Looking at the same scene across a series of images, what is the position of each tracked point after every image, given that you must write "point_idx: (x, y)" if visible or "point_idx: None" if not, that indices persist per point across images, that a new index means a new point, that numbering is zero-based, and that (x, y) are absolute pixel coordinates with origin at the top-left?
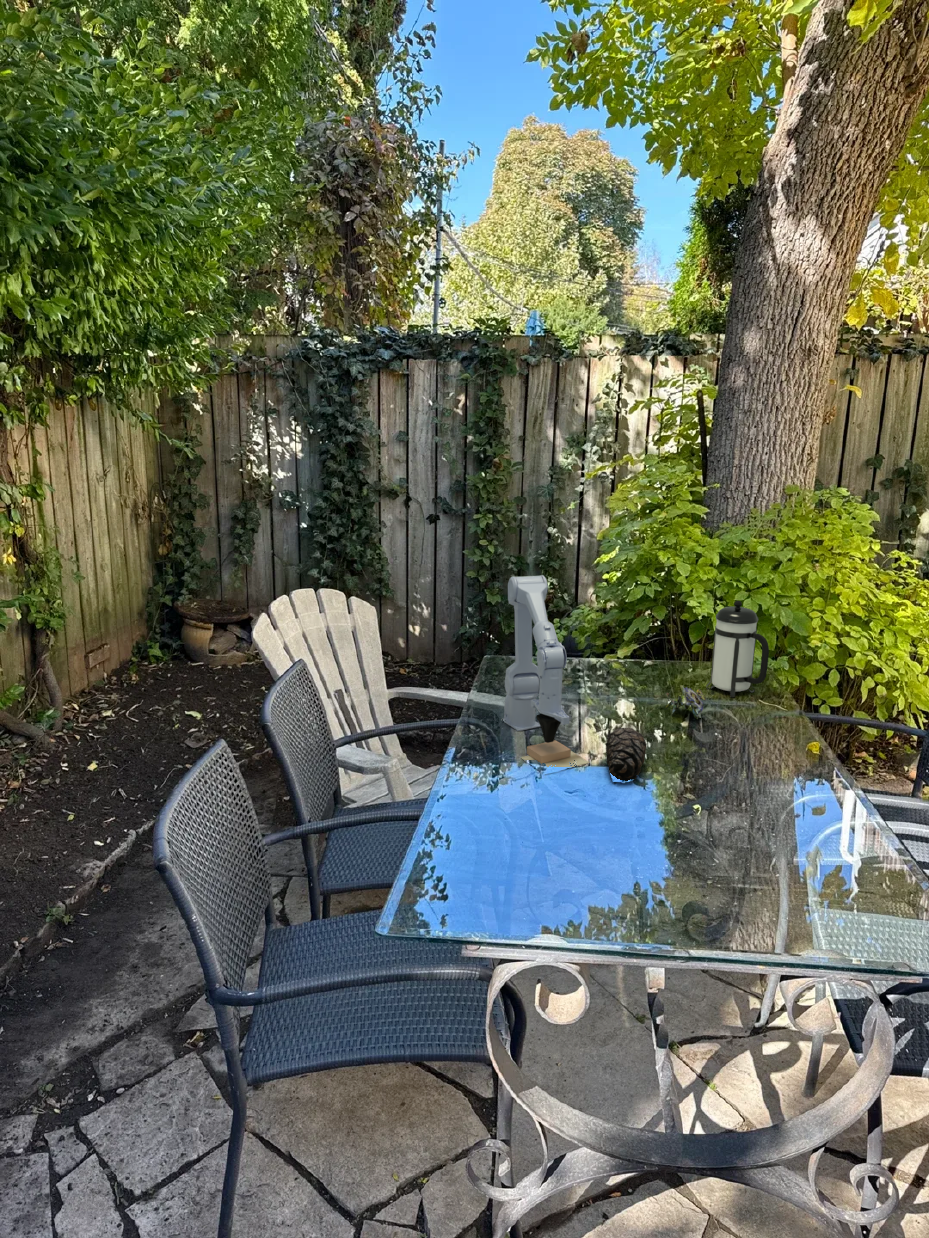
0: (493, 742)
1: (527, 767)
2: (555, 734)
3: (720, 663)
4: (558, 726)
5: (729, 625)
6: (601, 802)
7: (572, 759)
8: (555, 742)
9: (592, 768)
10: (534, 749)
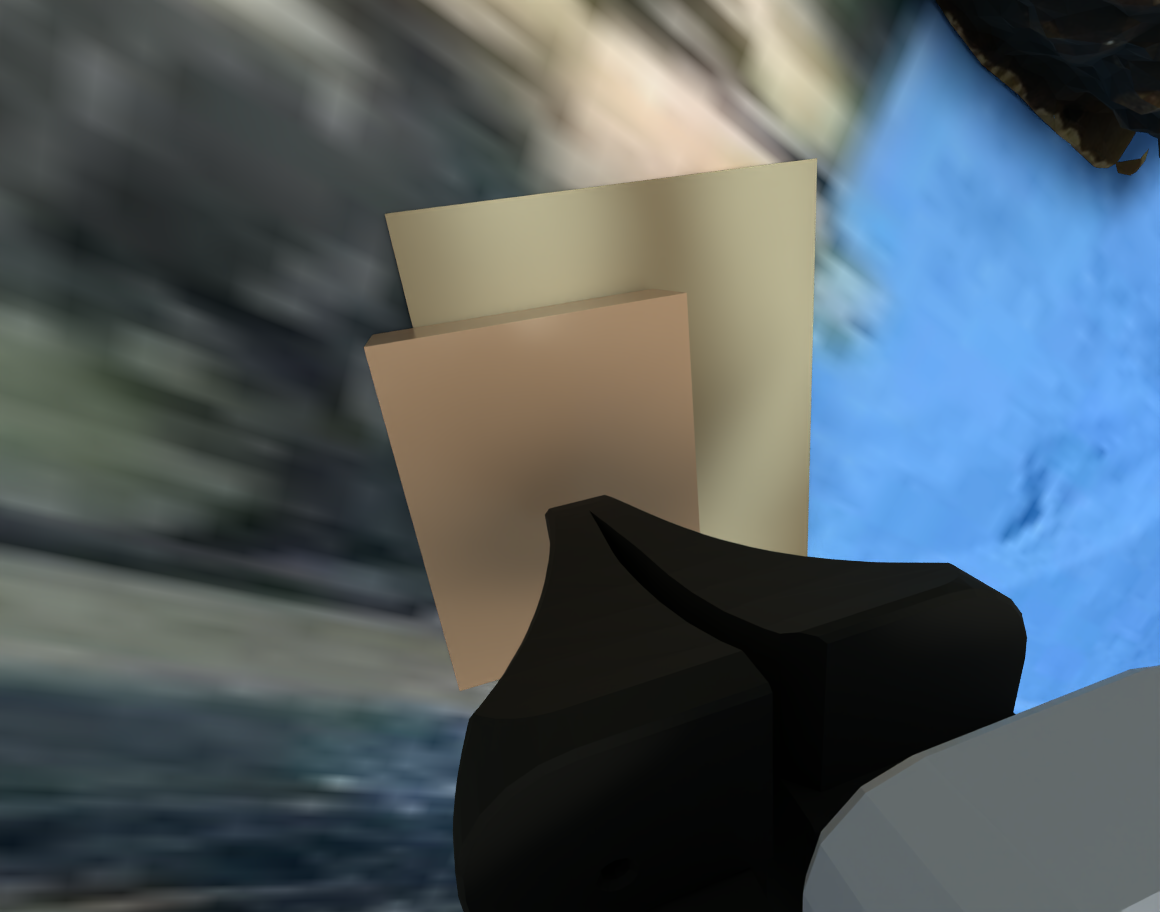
0: (77, 838)
1: None
2: (653, 515)
3: None
4: (776, 559)
5: None
6: None
7: (699, 294)
8: (438, 378)
9: (880, 191)
10: None
